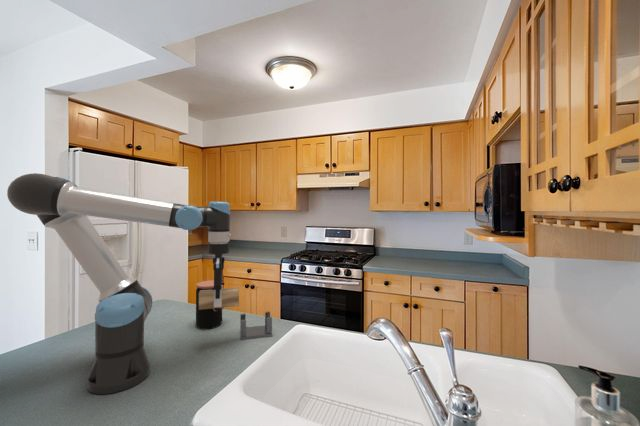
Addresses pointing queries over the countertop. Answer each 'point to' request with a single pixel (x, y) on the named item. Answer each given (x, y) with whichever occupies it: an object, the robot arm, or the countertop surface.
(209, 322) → the coffee jar
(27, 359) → the countertop surface
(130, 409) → the countertop surface
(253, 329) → the bracket
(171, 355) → the countertop surface
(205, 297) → the block
